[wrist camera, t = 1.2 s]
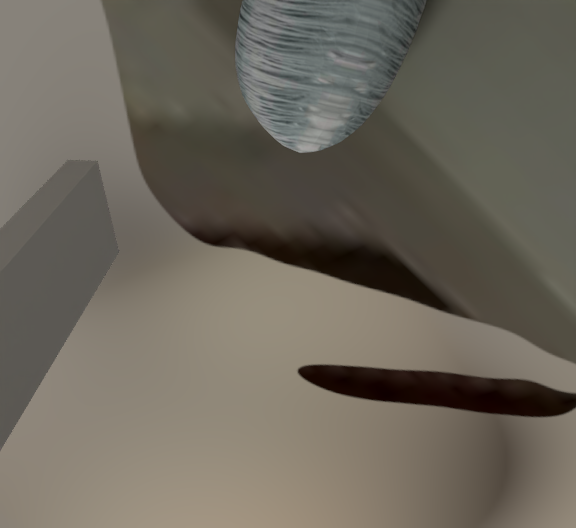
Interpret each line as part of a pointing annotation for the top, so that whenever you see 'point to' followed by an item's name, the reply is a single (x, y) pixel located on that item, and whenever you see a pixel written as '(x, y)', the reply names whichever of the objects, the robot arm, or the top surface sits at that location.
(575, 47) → the top surface
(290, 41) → the grey streaked egg shape
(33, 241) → the robot arm
